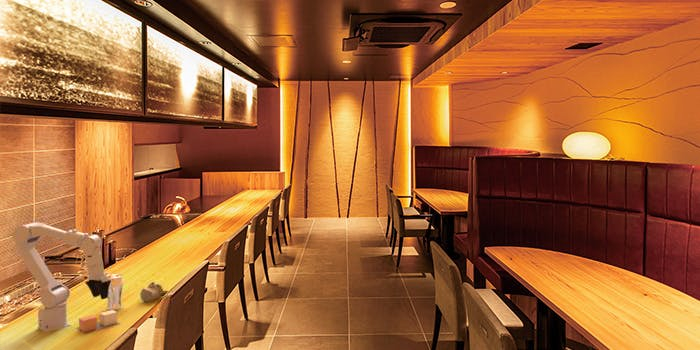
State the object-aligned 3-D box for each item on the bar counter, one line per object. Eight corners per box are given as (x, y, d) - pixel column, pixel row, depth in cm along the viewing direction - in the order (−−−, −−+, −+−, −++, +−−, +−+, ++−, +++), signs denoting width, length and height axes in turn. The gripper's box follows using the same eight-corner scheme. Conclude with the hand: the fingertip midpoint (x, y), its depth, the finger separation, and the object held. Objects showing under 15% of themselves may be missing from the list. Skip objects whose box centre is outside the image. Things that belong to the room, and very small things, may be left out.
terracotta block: (83, 332, 183) (83, 320, 183) (79, 329, 186) (79, 318, 186) (96, 328, 187) (96, 317, 187) (92, 325, 190) (92, 314, 190)
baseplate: (84, 335, 182) (84, 334, 182) (75, 329, 187) (75, 328, 187) (120, 324, 192) (120, 323, 192) (111, 319, 198) (111, 318, 198)
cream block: (104, 326, 190) (104, 315, 189) (100, 323, 192) (100, 313, 192) (116, 322, 194) (116, 312, 193) (112, 320, 196) (112, 309, 196)
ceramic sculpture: (133, 284, 219) (155, 277, 233) (133, 302, 219) (154, 294, 233) (152, 286, 216) (173, 279, 230) (152, 305, 216) (172, 297, 230)
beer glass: (107, 306, 213) (106, 274, 212) (123, 304, 216) (123, 273, 215) (105, 311, 207) (104, 278, 206) (122, 309, 209) (121, 277, 208)
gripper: (113, 263, 186) (118, 296, 187) (97, 261, 196) (102, 292, 196) (94, 268, 181) (100, 302, 182) (79, 266, 190) (85, 298, 191)
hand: (100, 297), depth 189 cm, fingers open, 7 cm apart
